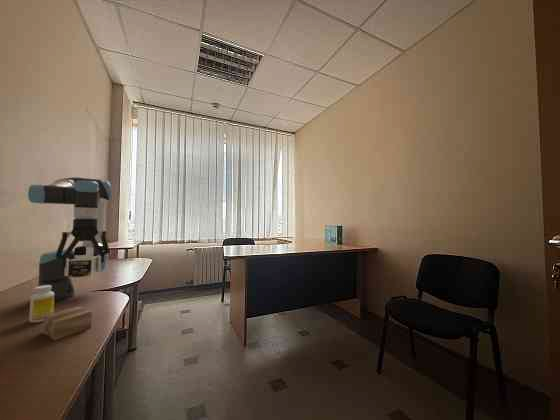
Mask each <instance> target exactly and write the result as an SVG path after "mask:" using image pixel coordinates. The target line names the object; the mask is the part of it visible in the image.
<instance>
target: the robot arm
mask: <svg viewBox="0 0 560 420" xmlns="http://www.w3.org/2000/svg"><path fill="white" fill-rule="evenodd" d="M27 192H28V193H27V198H28V200H29V202H30V203H32V204H49V205H50V204H51V205H52V204H54V205H56V204H57V205H73V220H72V230H71V231H67V232H65V231H63V232H61V239H60V242H59V244H58V248H57V250H53V251H48V252H45V253H42V254H41V256H40V257H39V263H38V268H39V269H38V284H37V286H36V287H38V286H43V285H51V291H52V292H54V302H57V301H63V300H65V299H69V298H72V297H73V296H75V295H76V289H75V285H74V284H73V281H72V278H68V272H69V260H72V259H74V258H75V257H74V251H73V250H74V249H75V248H76V247H77V244H78V243H80V242H82V245H81V246H92V247H94V255H93V256H92V257H97V273H101V272H104V271H105V270H106V268H107V264H108V259H109V255H110V252H111V251H110V248H109V244H108V241H107V237H106V235H107V232H106V230H105V229H104V228H105V227H104V226H105V214H106V213H105V211H106V204H108V203H109V201H110V200H112V191H111V184H110V181H109V180H105V179H101V178H100V179H99V178H85V177H76V176H75V177H65V178H59V179H56V180H54V181H53V182H52V183H51V184H47V185H44V184H32V185H31V184H30V186H29V188H28V191H27ZM71 235H72V237H74V238H73V239H72V242H71V243H70V244H69V246H68V247H67V248H66V249H64V248H65V246H66V243H67V241H68V238H69V237H70V236H71ZM33 294H35V291H34V292H33Z"/></svg>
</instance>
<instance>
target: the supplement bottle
mask: <svg viewBox="0 0 560 420" xmlns="http://www.w3.org/2000/svg"><path fill="white" fill-rule="evenodd" d="M37 286H38V285H37ZM37 286H36V287H34V290H33V291H34V292H35V294H34V293H33V294H32V295H31V296H30V298H29V299H30V300H29V318H28V322H29V323H33V324H34V323H43V320H44V316H45V315H49V314H52V313H55V310H54V309H55V301H54V292H52V291H51V285H43V286H38V287H37Z"/></svg>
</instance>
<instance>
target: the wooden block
mask: <svg viewBox="0 0 560 420" xmlns="http://www.w3.org/2000/svg"><path fill="white" fill-rule="evenodd" d="M92 316H93V312H92V311H91V310H89V309H86V308H84V307H82V306H76V307H75V306H74V307H73V308H72V307H71V308H68V309H64V310H60V311H57V312H54V313H52V314H49V315H45V316H44V320H43V321H42V325H43V326H42V334H43V335H46V336H48V337H49V338H50V339H51V340H54V341H56V340H59V339H62V338H65V337H68V336H70V335H73V334H74V335H75V334H77V333H80V332H82V331H84V330H88V329H91V328H92Z"/></svg>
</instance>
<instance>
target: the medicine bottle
mask: <svg viewBox="0 0 560 420" xmlns="http://www.w3.org/2000/svg"><path fill="white" fill-rule="evenodd" d="M73 250H74V251H73V252H74V257H75V258H74V259H72V260H69V272H68V278H71V279H80V278H81V279H82V278H90V277H93V276H94V275H95V274H97V273H98V272H97V257H92V256H93V255H94V247H92V246H82V245H81V246H75V247H74V248H73Z"/></svg>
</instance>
